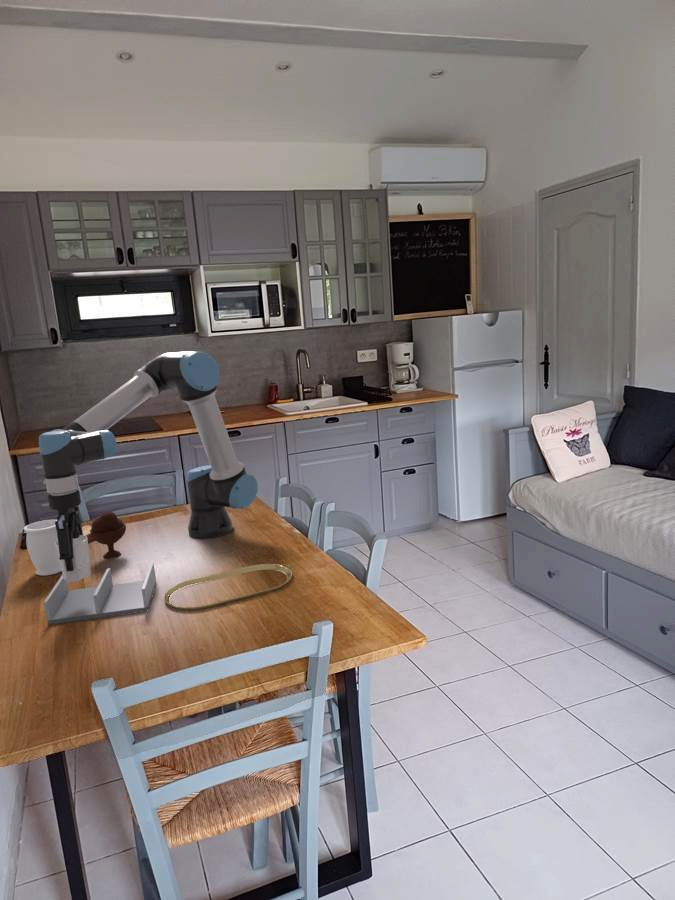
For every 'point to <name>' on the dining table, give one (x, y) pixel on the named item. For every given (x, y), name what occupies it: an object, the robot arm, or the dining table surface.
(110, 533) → the ice cream bowl
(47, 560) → the jar
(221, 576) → the brass oval ring
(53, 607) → the dish rack
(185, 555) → the dining table surface
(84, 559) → the white cup
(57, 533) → the robot arm
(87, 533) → the slice of bread
